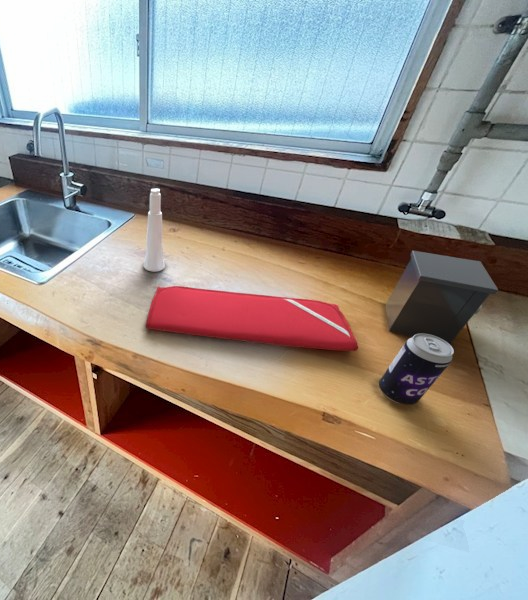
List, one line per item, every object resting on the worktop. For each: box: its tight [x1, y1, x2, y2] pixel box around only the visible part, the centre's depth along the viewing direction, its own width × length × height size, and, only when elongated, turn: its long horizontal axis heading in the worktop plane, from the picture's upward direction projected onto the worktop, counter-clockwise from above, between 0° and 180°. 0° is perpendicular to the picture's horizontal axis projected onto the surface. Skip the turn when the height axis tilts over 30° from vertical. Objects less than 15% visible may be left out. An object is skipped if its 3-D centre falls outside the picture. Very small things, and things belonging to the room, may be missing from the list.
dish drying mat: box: [145, 285, 359, 352], centre depth 71 cm, size 16×41×4 cm, turn 76°
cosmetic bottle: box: [143, 188, 166, 272], centre depth 86 cm, size 6×6×22 cm
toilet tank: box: [384, 250, 499, 345], centre depth 65 cm, size 11×11×14 cm
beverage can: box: [378, 333, 455, 406], centre depth 52 cm, size 6×6×12 cm
